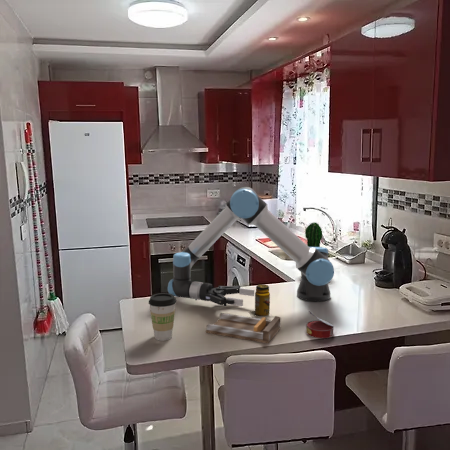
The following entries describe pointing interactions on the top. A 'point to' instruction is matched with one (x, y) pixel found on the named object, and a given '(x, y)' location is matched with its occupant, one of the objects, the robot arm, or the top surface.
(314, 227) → the potted cactus
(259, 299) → the condiment
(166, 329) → the coffee cup
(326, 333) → the canned food
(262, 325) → the latch
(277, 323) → the rail board
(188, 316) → the top surface
